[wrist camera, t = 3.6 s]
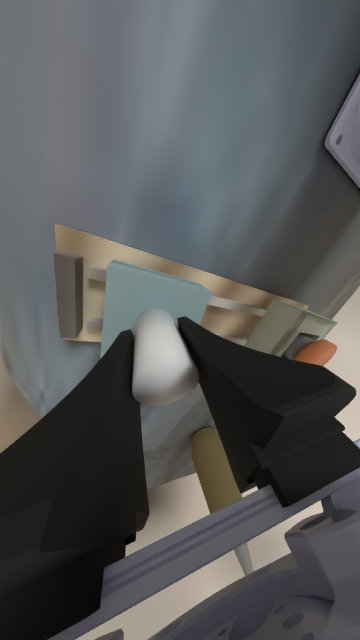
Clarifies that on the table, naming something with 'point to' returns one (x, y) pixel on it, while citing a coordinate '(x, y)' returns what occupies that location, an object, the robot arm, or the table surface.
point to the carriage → (153, 328)
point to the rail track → (96, 253)
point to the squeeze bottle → (217, 480)
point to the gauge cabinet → (286, 328)
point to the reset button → (310, 350)
